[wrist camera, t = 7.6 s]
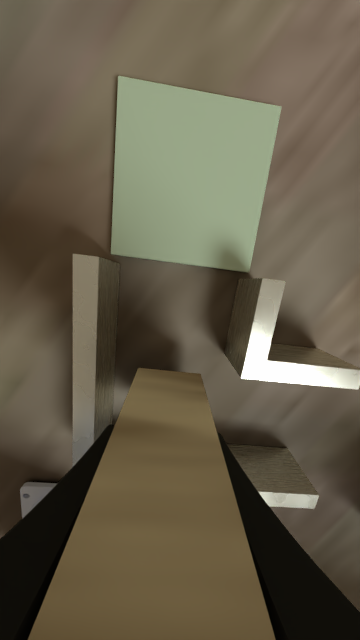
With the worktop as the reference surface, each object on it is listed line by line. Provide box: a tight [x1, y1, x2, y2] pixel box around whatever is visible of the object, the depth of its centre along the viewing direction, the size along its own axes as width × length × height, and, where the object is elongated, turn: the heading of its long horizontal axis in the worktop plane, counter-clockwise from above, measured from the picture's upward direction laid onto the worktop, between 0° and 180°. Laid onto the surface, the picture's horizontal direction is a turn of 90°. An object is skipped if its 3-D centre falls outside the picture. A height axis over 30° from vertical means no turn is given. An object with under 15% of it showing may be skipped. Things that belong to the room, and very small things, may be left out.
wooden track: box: [73, 254, 360, 509], centre depth 12 cm, size 15×16×4 cm
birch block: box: [28, 368, 276, 640], centre depth 8 cm, size 4×4×9 cm
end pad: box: [111, 76, 281, 272], centre depth 11 cm, size 9×9×1 cm
